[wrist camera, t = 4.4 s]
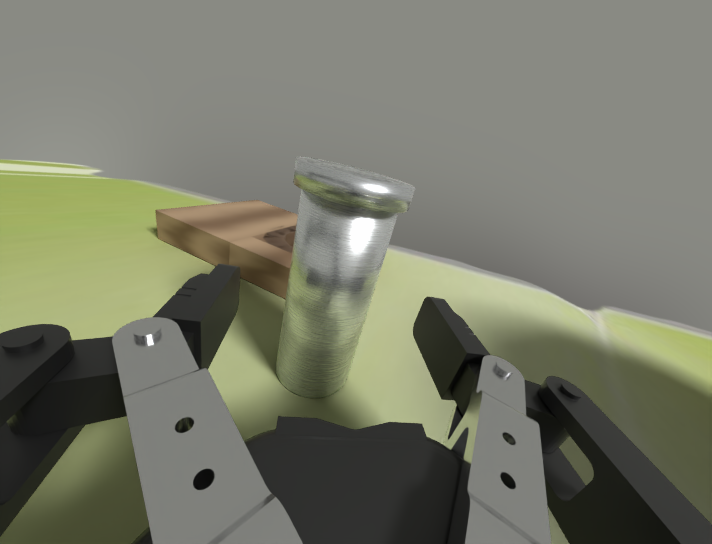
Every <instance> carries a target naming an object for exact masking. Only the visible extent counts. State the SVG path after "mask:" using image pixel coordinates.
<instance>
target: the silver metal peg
mask: <svg viewBox="0 0 712 544" xmlns="http://www.w3.org/2000/svg"><path fill="white" fill-rule="evenodd" d="M293 182H294V184H295V185H296V186H298V187H299V188H301V189H302V190H301V197H300V203H299V210H298V217H297V224H296V231H295V238H294V245H293V252H292V258H291V265H290V272H289V279H288V286H287V293H286V300H285V307H284V313H283V320H282V327H281V334H280V341H279V348H278V355H277V362H276V373H277V376H278V378H279V380H280V382H281V383H282V384H283V385H284V386H285V387H286V388H287V389H288V390H290V391H291V392H293V393H295V394H297V395H300V396H303V397H309V398H321V397H326V396H329V395H332V394H334V393H336V392H337V391H338V390H340V389H341V388H342V387H343V385H344V384H345V382H346V380H347V377H348V374H349V371H350V368H351V364H352V361H353V358H354V355H355V351H356V348H357V345H358V342H359V338H360V335H361V332H362V329H363V325H364V322H365V319H366V316H367V312H368V309H369V306H370V303H371V299H372V296H373V293H374V290H375V286H376V283H377V280H378V277H379V273H380V270H381V267H382V264H383V260H384V257H385V254H386V251H387V247H388V244H389V241H390V237H391V234H392V231H393V228H394V224H395V221H396V218H397V215H398V213H403V212H407V211H408V209H409V206H410V203H411V200H412V197H413V194H414V191H415V187H414V186H412V185H410V184H408V183H405V182H403V181H400V180H397V179H394V178H391V177H387V176H384V175H381V174H377V173H374V172H370V171H367V170H363V169H359V168H355V167H351V166H347V165H343V164H339V163H334V162H330V161H325V160H320V159H315V158H308V157H297V158H296V164H295V172H294V179H293Z"/></svg>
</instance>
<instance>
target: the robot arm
mask: <svg viewBox="0 0 712 544" xmlns="http://www.w3.org/2000/svg"><path fill="white" fill-rule="evenodd" d="M239 289H240V267H239V266H232V265H226V264H218V265H217V266H216V267H215V268H214V269H213V271H212V272H211V273H210V274H209V275H208V274H202V273H201V274H199V275H197V276H195V277H193V278H191V279H189V280H188V281H187V282H186V283H185V284H184V285H183V286H182V288H181V289H179V290H178V291H177V292H176V293H175V295H173V296H172V298H171V299H170V300H169V301H168V302H167V303H166V304H165V305H164V306H163V307H162V308H161V309H160V310H159V311H158V312H157V313H156V314H155V315H154V316H153V317H152V318H145V319H140V320H136V321H133V322H131V323H129V324H126V325H125V326H123V327H121V328H120V329H119V330H118V331H117V332H116V333H115V334H114V336H113V337H105V338H94V339H83V340H72V339H71V336H70V332H69V331H68V330H67V329H66V328H64V327H62V326H59V325H52V324H39V325H30V326H25V327H20V328H16V329H12V330H9V331H6V332H3V333H1V334H0V536H1V535H2V534H3V532H4V531H5V530H6V528H7V527H8V526H9V524H10V523H11V522H12V521H13V519H14V518H15V517H16V515H17V514H18V513H19V511H20V510H21V509H22V507H23V506H24V505H25V503H26V502H27V501H28V499H29V498H30V497H31V496H32V494H33V493H34V492H35V490H36V489H37V488H38V486H39V485H40V484H41V482H42V481H43V480H44V478H45V477H46V476H47V474H48V473H49V472H50V471H51V469H52V468H53V467H54V465H55V464H56V463H57V461H58V460H59V459H60V457H61V456H62V455H63V453H64V452H65V451H66V449H67V448H68V447H69V446H70V444H71V443H72V442H73V440H74V439H75V438H76V436H77V435H78V434H79V432H80V431H81V430H82V428H83V427H84V426H85V425H86V424H91V423H96V422H100V421H105V420H110V419H115V418H120V417H124V416H127V418H128V423H129V428H130V433H131V438H132V442H133V447H134V452H135V457H136V462H137V467H138V472H139V477H140V482H141V487H142V492H143V497H144V502H145V507H146V511H147V516H148V521H149V527H148V528H147V529H146V530H145V531H144V532H143V533H142V534H141V535H140V536H139V537H138V538H137V539H136V540H135V541H134V542H133V543H132V544H551V536H550V526H549V516H548V507H549V509H550V510H551V512H552V514H553V516H554V517H555V519H556V521H557V523H558V525H559V526H560V528H561V530H562V532H563V533H564V535H565V537H566V539H567V540H568V542H569V544H712V524H711V523H710V522H709V521H708V520H707V519H706V518H705V517H704V516H703V515H702V514H701V513H700V512H699V511H698V510H697V509H696V508H695V507H694V506H693V505H692V504H691V503H690V502H689V501H688V500H687V499H686V498H685V497H684V495H683V494H682V493H681V492H680V491H679V490H678V489H677V488H676V487H675V486H674V485H673V484H672V483H671V482H670V481H669V480H668V479H667V478H666V477H665V476H664V475H663V474H662V473H661V472H660V471H659V470H658V469H657V468H656V467H655V466H654V465H653V463H652V462H651V461H650V460H649V459H648V458H647V457H646V456H645V455H644V454H643V453H642V452H641V451H640V450H639V449H638V448H637V447H636V446H635V445H634V444H633V443H632V442H631V441H630V440H629V439H628V438H627V437H626V436H625V435H624V434H623V432H622V431H621V430H620V429H619V428H618V427H617V426H616V425H615V424H614V423H613V422H612V421H611V420H610V419H609V418H608V417H607V416H606V415H605V414H604V413H603V412H602V411H601V410H600V409H599V408H598V407H597V406H596V405H595V404H594V403H593V402H592V400H591V399H590V398H589V397H588V396H587V395H586V394H585V393H584V392H582V391H581V390H580V389H579V388H577V387H576V386H575V385H573V384H571V383H570V382H568V381H566V380H564V379H561V378H559V377H555V376H549V377H547V379H546V380H545V381H544V383H543V384H542V385H538V384H535V383H532V382H530V381H527V380H524V377H523V375H522V374H521V373H520V371H519V370H518V369H517V368H516V367H515V366H513V365H512V364H511V363H509V362H508V361H506V360H504V359H502V358H500V357H497V356H493V355H490V354H489V353H488V351H487V350H486V349H485V347H484V346H483V345H482V343H481V342H480V341H479V340H478V338H477V337H476V336H475V335H474V333H473V332H472V330H471V329H470V328H469V326H468V325H467V324H466V323H465V321H464V320H463V319H462V318H461V317H460V316H459V315H457V314H456V313H455V312H454V311H453V310H452V309H451V308H450V306H449V305H448V303H447V302H446V301H445V300H444V299H440V298H434V297H426V298H425V299H424V301H423V304H422V306H421V309H420V311H419V313H418V316H417V318H416V321H415V323H414V327H413V336H414V339H415V341H416V343H417V345H418V348H419V350H420V352H421V354H422V356H423V359H424V361H425V363H426V365H427V368H428V370H429V372H430V374H431V377H432V379H433V381H434V383H435V385H436V388H437V390H438V392H439V394H440V397H441V399H443V400H455V402H456V405H455V406H454V408H453V410H452V414H451V417H450V421H449V424H448V428H447V431H446V435H445V439H444V442H443V445H442V444H441V443H439V442H437V441H435V440H433V439H430V438H428V437H426V434H425V431H424V428H423V426H422V424H418V423H398V422H388V423H383V424H379V425H375V426H371V427H366V428H362V429H357V430H354V429H350V428H346V427H343V426H340V425H337V424H333V423H330V422H327V421H324V420H320V419H317V418H301V417H281V416H278V421H277V427H276V429H275V430H271V431H267V432H264V433H261V434H258V435H256V436H254V437H252V438H249V439H247V440H246V441H243V439H242V437H241V435H240V433H239V431H238V429H237V427H236V425H235V423H234V421H233V419H232V417H231V415H230V413H229V411H228V409H227V407H226V405H225V403H224V401H223V399H222V397H221V395H220V393H219V391H218V389H217V387H216V385H215V383H214V381H213V379H212V377H211V375H210V373H209V371H208V368H209V366H210V364H211V362H212V360H213V358H214V356H215V354H216V352H217V350H218V348H219V346H220V344H221V342H222V340H223V338H224V336H225V334H226V332H227V331H228V329H229V327H230V325H231V323H232V321H233V319H234V317H235V315H236V312H237V308H238V303H239ZM569 436H571V437H572V439H573V440H574V441H575V443H576V444H577V445H578V446H579V448H580V449H581V450H582V452H583V453H584V454H585V455H586V457H587V458H588V459H589V461H590V462H591V464H592V467H593V470H594V478H593V480H592V481H591V482H590V483H589V484H588V485H587V486H586V485H585V484H584V483H583V481H582V480H581V478H580V477H579V476H578V474H577V473H576V471H575V470H574V468H573V467H572V466H571V464H570V463H569V461H568V460H567V459H566V457H565V456H564V454H563V453H562V452H561V450H560V449H559V446H560V445H561V444H562V443H563V442H564V441H565V440H566V439H567V438H568V437H569ZM547 505H548V507H547Z"/></svg>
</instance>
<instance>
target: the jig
mask: <svg viewBox="0 0 712 544" xmlns="http://www.w3.org/2000/svg"><path fill="white" fill-rule="evenodd" d="M297 217H298V215H297V214H295V213H291V212H289V211H286V210H283V209H281V208H278V207H275V206H273V205H269V204H267V203H264V202H261V201H259V200H252V201H242V202H232V203H221V204H211V205H201V206H191V207H181V208H171V209H161V210H156V221H157V232H158V239H160V240H162V241H164V242H167V243H169V244H171V245H173V246H175V247H177V248H179V249H181V250H183V251H186V252H188V253H190V254H192V255H194V256H196V257H198V258H200V259H202V260H205V261H207V262H209V263H211V264H213V265H215V266H217V265H218V264H226V265H232V266H239V267H240V278H242V279H245V280H247V281H249V282H251V283H253V284H255V285H257V286H259V287H261V288H263V289H266V290H268V291H270V292H272V293H274V294H276V295H278V296H280V297H282V298H285V299H286V293H287V286H288V279H289V272H290V265H291V258H292V252H293V245H294V238H295V231H296V224H297Z"/></svg>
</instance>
